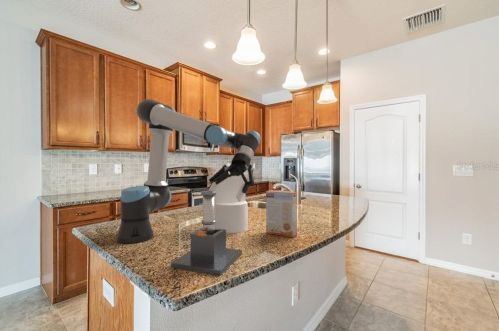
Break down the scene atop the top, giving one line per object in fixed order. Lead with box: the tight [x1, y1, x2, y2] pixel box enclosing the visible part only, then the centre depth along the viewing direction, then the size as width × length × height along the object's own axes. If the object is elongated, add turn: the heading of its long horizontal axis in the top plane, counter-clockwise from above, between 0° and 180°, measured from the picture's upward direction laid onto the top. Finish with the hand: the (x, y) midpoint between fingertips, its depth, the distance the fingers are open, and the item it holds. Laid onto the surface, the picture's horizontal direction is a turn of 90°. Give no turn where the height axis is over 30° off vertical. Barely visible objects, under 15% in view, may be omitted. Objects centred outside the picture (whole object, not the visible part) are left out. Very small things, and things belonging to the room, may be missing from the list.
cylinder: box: [214, 175, 249, 235], centre depth 122 cm, size 17×17×28 cm
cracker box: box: [265, 189, 298, 238], centre depth 113 cm, size 14×6×21 cm, turn 58°
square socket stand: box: [170, 227, 243, 276], centre depth 82 cm, size 18×18×11 cm
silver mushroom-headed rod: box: [200, 190, 216, 235], centre depth 82 cm, size 5×5×22 cm
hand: (222, 198), depth 87 cm, fingers open, 13 cm apart
